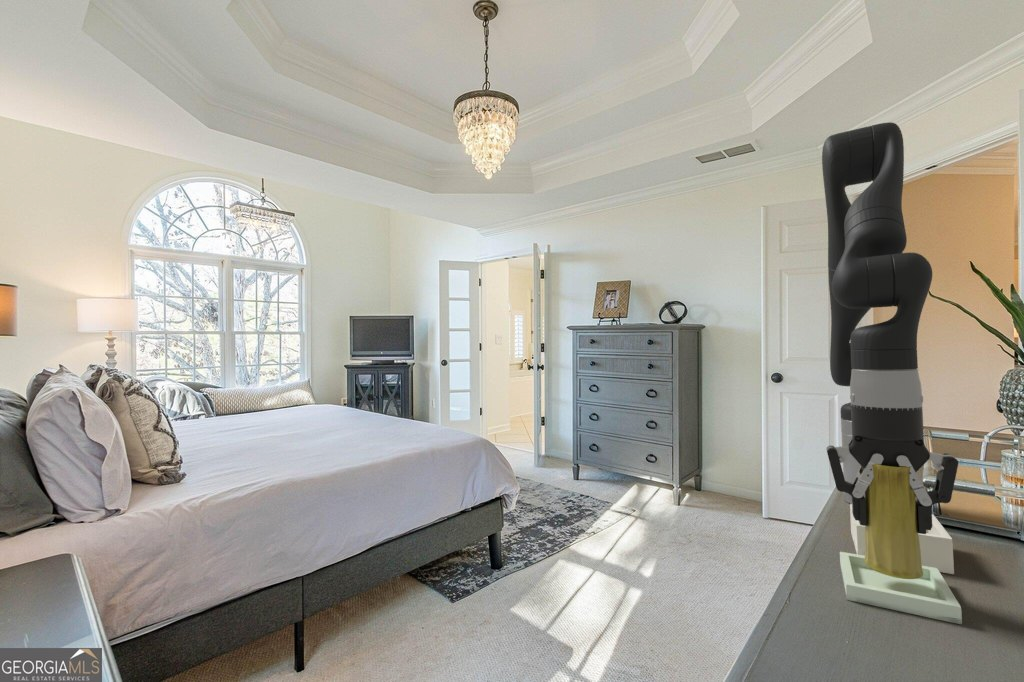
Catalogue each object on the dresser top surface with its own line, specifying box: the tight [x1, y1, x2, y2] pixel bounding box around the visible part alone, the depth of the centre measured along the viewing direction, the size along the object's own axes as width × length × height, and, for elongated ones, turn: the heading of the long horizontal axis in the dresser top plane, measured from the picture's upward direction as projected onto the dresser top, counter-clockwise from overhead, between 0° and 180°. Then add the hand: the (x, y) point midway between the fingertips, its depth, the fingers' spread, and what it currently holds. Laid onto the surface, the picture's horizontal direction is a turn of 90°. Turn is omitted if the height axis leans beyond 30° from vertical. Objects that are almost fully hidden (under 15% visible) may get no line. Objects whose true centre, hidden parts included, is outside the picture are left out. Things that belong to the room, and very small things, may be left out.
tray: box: [839, 551, 963, 625], centre depth 61 cm, size 11×11×2 cm
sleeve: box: [849, 503, 955, 575], centre depth 73 cm, size 11×11×5 cm
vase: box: [864, 464, 923, 579], centre depth 62 cm, size 6×6×14 cm
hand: (890, 527), depth 62 cm, fingers closed on vase, 5 cm apart
